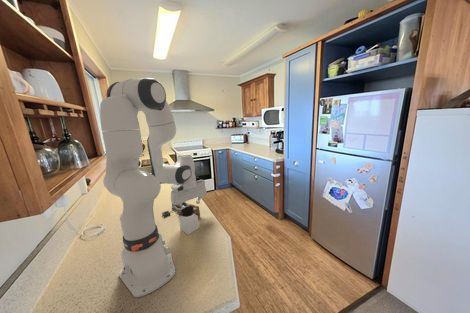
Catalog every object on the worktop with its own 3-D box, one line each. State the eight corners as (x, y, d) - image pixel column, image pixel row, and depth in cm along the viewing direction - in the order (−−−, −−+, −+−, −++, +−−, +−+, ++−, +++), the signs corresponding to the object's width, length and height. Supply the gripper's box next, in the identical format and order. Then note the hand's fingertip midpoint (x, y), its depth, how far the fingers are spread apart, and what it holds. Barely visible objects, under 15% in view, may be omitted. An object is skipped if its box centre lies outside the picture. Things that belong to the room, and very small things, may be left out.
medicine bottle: (199, 228, 92) (197, 206, 89) (187, 235, 87) (184, 212, 84) (191, 223, 97) (189, 202, 94) (180, 229, 91) (177, 208, 89)
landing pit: (190, 208, 112) (189, 201, 111) (178, 213, 107) (177, 205, 106) (183, 203, 120) (182, 196, 119) (172, 207, 115) (171, 200, 114)
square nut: (170, 215, 106) (170, 212, 106) (164, 217, 104) (164, 215, 104) (168, 212, 109) (167, 210, 109) (162, 215, 107) (162, 212, 106)
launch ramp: (200, 216, 103) (199, 206, 102) (187, 221, 98) (186, 212, 97) (190, 208, 112) (189, 200, 111) (178, 213, 107) (177, 204, 106)
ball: (179, 207, 116) (181, 207, 113) (175, 206, 115) (176, 205, 112) (181, 203, 117) (183, 202, 115) (177, 201, 116) (178, 201, 114)
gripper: (201, 177, 106) (203, 198, 109) (167, 187, 94) (171, 210, 97) (207, 179, 102) (209, 201, 105) (172, 190, 89) (175, 215, 92)
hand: (190, 206), depth 101 cm, fingers open, 8 cm apart
